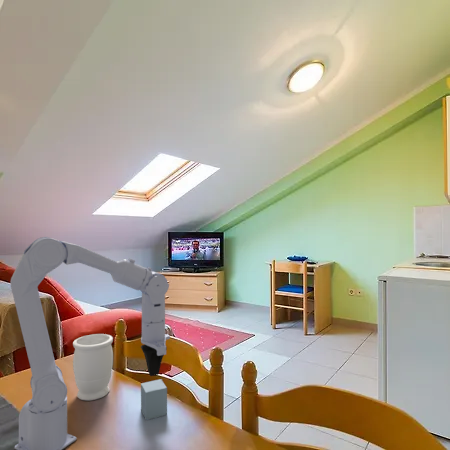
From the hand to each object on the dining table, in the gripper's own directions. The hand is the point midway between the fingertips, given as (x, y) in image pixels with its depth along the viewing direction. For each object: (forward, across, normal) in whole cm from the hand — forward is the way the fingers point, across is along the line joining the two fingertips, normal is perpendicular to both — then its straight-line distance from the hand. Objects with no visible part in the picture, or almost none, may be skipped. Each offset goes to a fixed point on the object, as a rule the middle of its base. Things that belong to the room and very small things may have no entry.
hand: (153, 374), depth 83 cm
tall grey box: (+9, 0, 0) cm, 9 cm away
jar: (+10, +17, +12) cm, 23 cm away
